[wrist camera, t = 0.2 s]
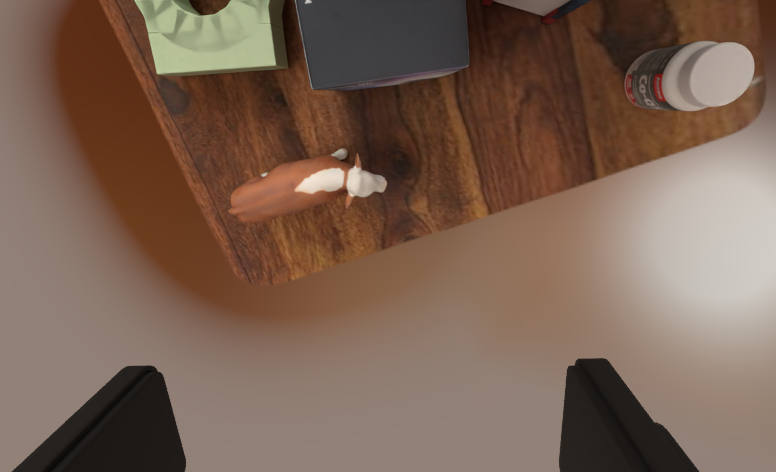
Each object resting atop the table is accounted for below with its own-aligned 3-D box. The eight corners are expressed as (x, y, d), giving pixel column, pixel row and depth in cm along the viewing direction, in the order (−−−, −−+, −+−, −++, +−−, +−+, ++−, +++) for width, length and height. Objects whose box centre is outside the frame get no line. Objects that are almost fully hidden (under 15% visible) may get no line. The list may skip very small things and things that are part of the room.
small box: (336, 95, 37) (307, 95, 27) (322, 14, 35) (286, -18, 25) (455, 77, 36) (471, 70, 26) (448, -7, 34) (463, -49, 24)
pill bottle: (611, 81, 35) (668, 77, 28) (658, 36, 34) (732, 18, 26) (645, 121, 36) (710, 127, 28) (693, 78, 35) (775, 73, 27)
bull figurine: (393, 183, 39) (388, 204, 32) (259, 211, 41) (224, 237, 33) (382, 136, 38) (375, 147, 30) (245, 167, 40) (205, 184, 32)
